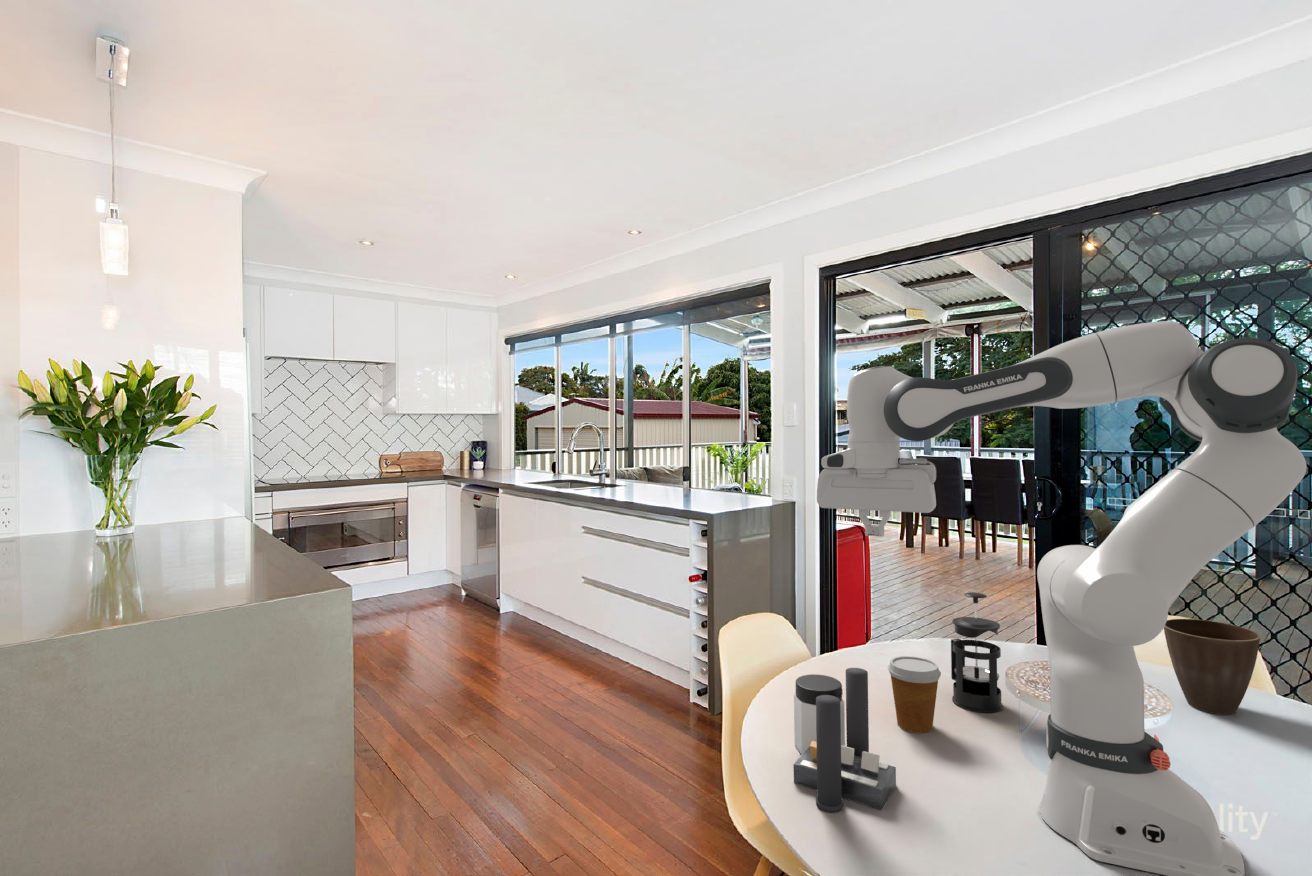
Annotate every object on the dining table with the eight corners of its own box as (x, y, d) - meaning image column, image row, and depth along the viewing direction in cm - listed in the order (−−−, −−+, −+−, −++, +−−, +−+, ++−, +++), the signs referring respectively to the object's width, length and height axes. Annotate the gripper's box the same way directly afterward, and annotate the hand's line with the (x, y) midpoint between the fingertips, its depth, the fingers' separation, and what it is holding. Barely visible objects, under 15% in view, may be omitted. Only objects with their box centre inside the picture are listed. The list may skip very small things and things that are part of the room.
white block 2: (878, 771, 100) (879, 755, 101) (876, 772, 99) (877, 755, 100) (863, 767, 101) (864, 751, 102) (860, 768, 100) (862, 751, 101)
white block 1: (853, 764, 102) (854, 748, 103) (850, 765, 101) (852, 749, 102) (838, 760, 104) (839, 744, 104) (836, 761, 103) (837, 745, 103)
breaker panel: (896, 785, 102) (895, 765, 102) (882, 810, 95) (881, 788, 95) (811, 761, 110) (811, 743, 110) (793, 782, 103) (793, 762, 103)
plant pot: (1254, 731, 119) (1253, 645, 119) (1155, 706, 130) (1154, 628, 130) (1267, 709, 128) (1266, 629, 128) (1174, 687, 140) (1172, 614, 140)
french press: (1016, 711, 129) (1014, 597, 129) (978, 717, 126) (976, 601, 126) (972, 689, 140) (970, 585, 140) (936, 694, 137) (935, 588, 137)
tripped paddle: (828, 756, 104) (826, 744, 104) (825, 761, 103) (823, 749, 103) (814, 752, 106) (812, 740, 105) (811, 757, 105) (809, 745, 104)
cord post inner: (873, 763, 109) (871, 670, 109) (866, 774, 105) (864, 677, 105) (850, 757, 111) (848, 665, 111) (842, 767, 108) (841, 672, 108)
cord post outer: (846, 803, 97) (845, 698, 97) (838, 815, 94) (836, 707, 94) (821, 794, 99) (820, 692, 99) (812, 807, 96) (810, 701, 96)
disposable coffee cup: (890, 733, 120) (889, 669, 120) (887, 712, 129) (886, 653, 129) (945, 740, 117) (944, 674, 117) (938, 718, 126) (937, 657, 126)
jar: (819, 766, 108) (818, 695, 108) (785, 747, 115) (784, 680, 115) (854, 751, 113) (853, 684, 113) (819, 734, 120) (818, 670, 120)
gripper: (939, 457, 110) (941, 537, 110) (824, 457, 122) (825, 529, 122) (932, 458, 105) (933, 542, 105) (812, 458, 117) (814, 534, 117)
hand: (874, 535), depth 113 cm, fingers closed
